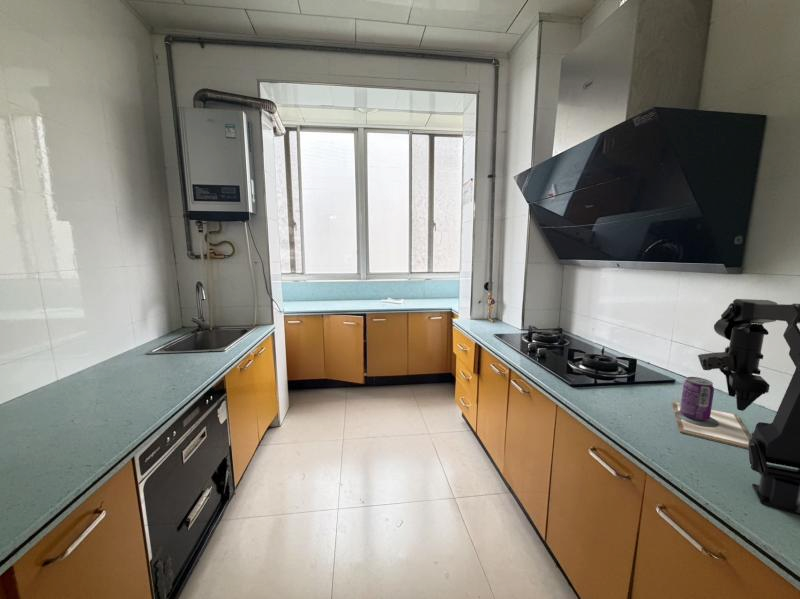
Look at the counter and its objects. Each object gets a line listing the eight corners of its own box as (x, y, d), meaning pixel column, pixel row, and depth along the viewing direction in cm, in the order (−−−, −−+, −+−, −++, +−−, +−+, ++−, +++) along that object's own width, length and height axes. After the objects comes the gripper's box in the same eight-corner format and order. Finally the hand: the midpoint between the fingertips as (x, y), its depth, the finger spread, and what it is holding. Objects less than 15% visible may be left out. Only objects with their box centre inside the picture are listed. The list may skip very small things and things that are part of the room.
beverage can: (713, 417, 102) (718, 381, 100) (705, 424, 98) (710, 387, 96) (684, 408, 108) (689, 374, 106) (676, 414, 104) (680, 379, 102)
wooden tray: (758, 451, 87) (758, 448, 86) (679, 432, 96) (680, 429, 96) (736, 416, 104) (736, 413, 104) (672, 403, 113) (672, 400, 113)
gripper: (697, 334, 96) (690, 383, 99) (709, 351, 81) (700, 409, 84) (751, 339, 89) (742, 392, 92) (775, 360, 75) (763, 422, 77)
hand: (735, 402), depth 86 cm, fingers open, 9 cm apart
